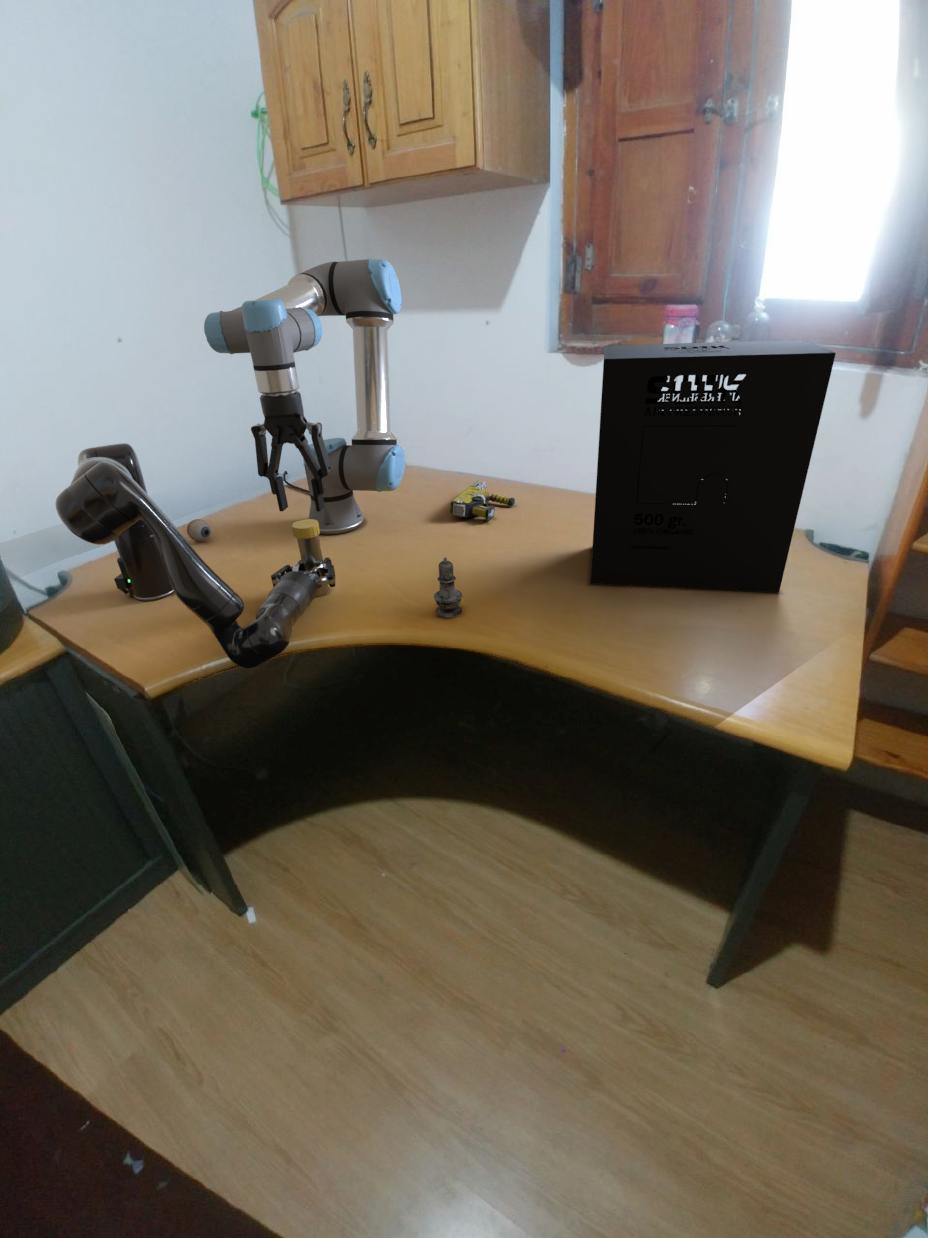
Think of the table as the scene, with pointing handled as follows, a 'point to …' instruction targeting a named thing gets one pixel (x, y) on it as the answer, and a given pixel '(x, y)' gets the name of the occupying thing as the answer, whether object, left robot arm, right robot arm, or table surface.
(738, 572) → the cardboard box
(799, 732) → the table surface
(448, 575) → the dark grey chess piece
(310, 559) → the jar
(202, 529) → the eyeball
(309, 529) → the lid
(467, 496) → the toy gun
